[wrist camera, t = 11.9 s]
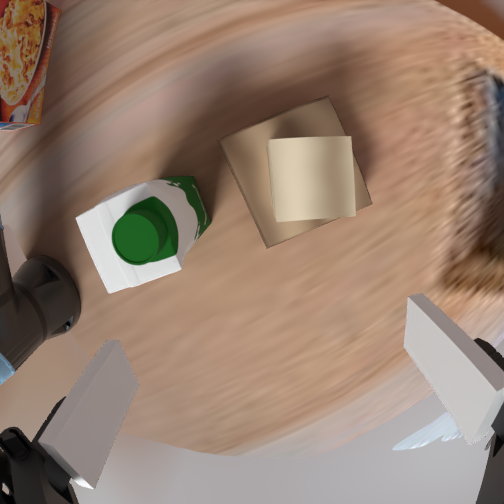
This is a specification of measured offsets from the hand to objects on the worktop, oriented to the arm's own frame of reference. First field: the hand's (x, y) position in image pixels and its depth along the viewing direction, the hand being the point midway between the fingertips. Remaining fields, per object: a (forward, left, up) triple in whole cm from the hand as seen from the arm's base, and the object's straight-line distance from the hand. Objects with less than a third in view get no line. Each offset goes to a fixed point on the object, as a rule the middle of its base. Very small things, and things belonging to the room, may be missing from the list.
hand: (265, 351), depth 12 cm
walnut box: (+5, +6, -30) cm, 31 cm away
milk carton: (-11, +3, -30) cm, 32 cm away
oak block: (+5, +6, -23) cm, 24 cm away
